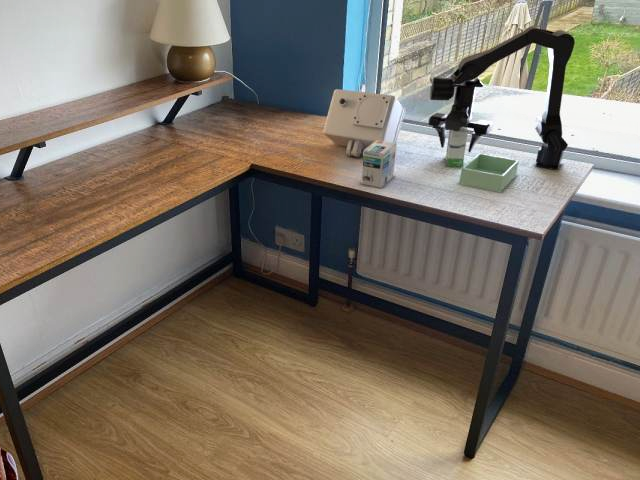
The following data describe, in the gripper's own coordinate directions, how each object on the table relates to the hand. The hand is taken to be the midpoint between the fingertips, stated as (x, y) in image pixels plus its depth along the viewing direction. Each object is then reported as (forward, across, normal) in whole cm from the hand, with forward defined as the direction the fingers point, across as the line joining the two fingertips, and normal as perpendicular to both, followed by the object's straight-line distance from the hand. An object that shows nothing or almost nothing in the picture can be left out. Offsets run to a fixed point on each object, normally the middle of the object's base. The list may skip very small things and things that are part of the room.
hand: (455, 149), depth 193 cm
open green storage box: (+4, +14, -9) cm, 17 cm away
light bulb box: (+5, -14, -27) cm, 31 cm away
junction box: (+5, -31, -5) cm, 32 cm away
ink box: (+4, 0, 0) cm, 5 cm away
